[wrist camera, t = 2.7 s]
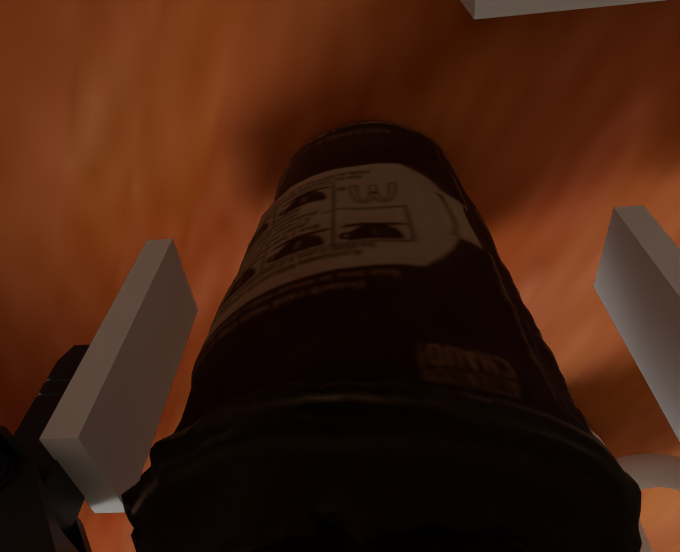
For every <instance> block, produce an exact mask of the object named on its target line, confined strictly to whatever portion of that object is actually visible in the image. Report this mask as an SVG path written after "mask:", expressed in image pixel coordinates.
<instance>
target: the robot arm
mask: <svg viewBox="0 0 680 552" xmlns="http://www.w3.org/2000/svg"><path fill="white" fill-rule="evenodd" d="M594 288H595V290H596V292H597V294H598V295H599V297H600V299H601V301H602V303H603V304H604V306H605V308H606V310H607V312H608V313H609V315H610V317H611V319H612V321H613V322H614V324H615V326H616V328H617V330H618V331H619V333H620V335H621V337H622V339H623V340H624V342H625V344H626V346H627V348H628V350H629V351H630V353H631V355H632V357H633V359H634V360H635V362H636V364H637V366H638V368H639V369H640V371H641V373H642V375H643V377H644V378H645V380H646V382H647V384H648V386H649V387H650V389H651V391H652V393H653V395H654V397H655V398H656V400H657V402H658V404H659V406H660V407H661V409H662V411H663V413H664V415H665V416H666V418H667V420H668V422H669V424H670V425H671V427H672V429H673V431H674V433H675V434H676V436H677V438H678V440H679V442H680V249H679V248H678V247H677V246H676V244H675V243H674V242H673V241H672V239H671V238H670V237H669V236H668V235H667V233H666V232H665V231H664V230H663V229H662V227H661V226H660V225H659V224H658V222H657V221H656V220H655V219H654V218H653V216H652V215H651V214H650V213H649V212H648V210H647V209H646V208H645V207H644V205H642V206H628V207H614V209H613V213H612V217H611V220H610V224H609V228H608V232H607V236H606V240H605V244H604V248H603V252H602V256H601V260H600V264H599V267H598V271H597V275H596V279H595V283H594ZM197 311H198V309H197V306H196V303H195V301H194V298H193V295H192V292H191V289H190V286H189V284H188V281H187V278H186V275H185V272H184V270H183V267H182V264H181V261H180V258H179V255H178V253H177V250H176V247H175V244H174V241H173V239H160V240H147V241H146V243H145V245H144V246H143V248H142V250H141V252H140V254H139V256H138V257H137V259H136V261H135V263H134V265H133V267H132V269H131V270H130V272H129V274H128V276H127V278H126V280H125V281H124V283H123V285H122V287H121V289H120V291H119V293H118V294H117V296H116V298H115V300H114V302H113V304H112V305H111V307H110V309H109V311H108V313H107V315H106V317H105V318H104V320H103V322H102V324H101V326H100V328H99V330H98V331H97V333H96V335H95V337H94V339H93V341H92V342H91V344H90V345H75V346H73V347H72V348H71V349H70V350H69V351H68V352H67V353H66V354H65V355H64V356H63V357H61V358H60V359H59V360H58V361H57V363H56V364H55V366H54V368H53V369H52V371H51V373H50V375H49V376H48V378H47V382H45V383H44V385H43V386H42V388H41V390H40V392H39V396H38V397H36V398H35V400H34V402H33V403H32V405H31V407H30V409H29V410H28V412H27V414H26V415H25V417H24V419H23V420H22V422H21V424H20V426H19V427H18V429H17V431H16V432H15V434H14V436H13V435H12V434H11V433H10V432H9V430H8V429H7V428H6V427H3V426H0V552H92V550H91V547H90V544H89V541H88V538H87V535H86V532H85V529H84V526H83V524H82V522H81V521H80V519H79V518H78V517H77V516H78V514H79V511H80V509H81V506H82V504H83V502H84V500H85V501H86V502H87V504H88V505H89V506H90V508H91V509H92V510H93V511H94V513H113V512H125V511H124V507H123V501H122V498H121V494H123V493H124V492H125V491H127V490H128V489H130V488H131V487H132V486H134V485H135V484H136V483H137V482H138V481H139V479H140V476H141V473H142V470H143V467H144V464H145V461H146V459H147V456H148V453H149V450H150V447H151V444H152V441H153V438H154V435H155V433H156V430H157V427H158V424H159V421H160V418H161V415H162V412H163V409H164V406H165V404H166V401H167V398H168V395H169V392H170V389H171V386H172V383H173V380H174V378H175V375H176V372H177V369H178V366H179V363H180V360H181V357H182V354H183V352H184V349H185V346H186V343H187V340H188V337H189V334H190V331H191V328H192V325H193V323H194V320H195V317H196V314H197Z"/></svg>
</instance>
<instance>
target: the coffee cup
mask: <svg viewBox="0 0 680 552" xmlns="http://www.w3.org/2000/svg"><path fill="white" fill-rule="evenodd" d="M150 461H151V467H150V468H149V469H148V470H146V471H145V472H144V473H143V474H142V475H141V478H140V480H139V481H138V482H137V483H136V484H135V485H134V486H132V487H131V488H130V489H128V490H127V491H125V492H124V493H123V494H121V498H122V501H123V507H124V511H125V513H126V515H127V517H128V520H129V521H130V523H131V524H132V526H133V527H134V530H133V532H132V534H131V537H132V540H133V543H134V546H135V549H136V552H640V549H641V546H642V540H641V536H640V532H639V517H640V512H641V490H640V487H639V485H638V483H637V482H636V481H635V480H634V479H633V478H632V477H631V476H630V475H629V474H628V473H626V472H624V470H623V469H622V467H621V466H620V465H619V463H618V462H617V460H616V459H615V458H614V456H613V455H612V454H611V452H610V451H609V450H608V448H607V447H606V446H605V445H604V444H603V443H602V442H601V441H599V440H598V439H597V438H596V437H595V436H594V435H593V433H592V431H591V428H590V426H589V424H588V422H587V420H586V419H585V417H584V415H583V414H582V413H581V412H580V410H579V409H578V408H576V407H575V405H574V402H573V399H572V396H571V393H570V390H569V388H568V386H567V383H566V381H565V379H564V377H563V375H562V374H561V372H560V370H559V367H558V365H557V362H556V359H555V357H554V355H553V353H552V351H551V350H550V348H549V347H548V346H547V344H546V343H545V342H544V341H543V339H542V335H541V332H540V330H539V329H538V328H537V326H536V324H535V322H534V319H533V317H532V315H531V314H530V312H529V310H528V309H527V308H526V306H525V305H524V304H523V302H522V300H521V297H520V293H519V291H518V289H517V288H516V286H515V284H514V282H513V280H512V277H511V275H510V273H509V271H508V270H507V268H506V267H505V265H504V264H503V262H502V261H501V260H500V257H499V255H498V252H497V249H496V247H495V244H494V241H493V239H492V236H491V234H490V232H489V230H488V228H487V226H486V224H485V222H484V220H483V219H482V217H481V215H480V213H479V212H478V210H477V209H476V207H475V206H474V204H473V203H472V201H471V200H470V199H469V197H468V196H467V194H466V193H465V191H464V190H463V188H462V186H461V184H460V182H459V180H458V178H457V176H456V174H455V172H454V170H453V168H452V166H451V164H450V162H449V160H448V158H447V157H446V155H445V154H444V153H443V151H442V150H441V149H440V147H439V146H438V144H437V143H436V142H435V141H433V140H432V139H431V138H429V137H427V136H425V135H423V134H421V133H418V132H416V131H413V130H411V129H408V128H405V127H401V126H398V125H395V124H392V123H387V122H380V121H367V122H359V123H353V124H349V125H346V126H343V127H340V128H337V129H335V130H333V131H330V132H328V133H325V134H323V135H321V136H318V137H316V138H315V139H313V140H311V141H310V142H308V143H307V144H306V145H305V146H304V147H303V148H302V149H301V150H300V151H299V152H298V153H297V154H296V155H295V156H294V157H293V159H292V160H291V162H290V163H289V165H288V167H287V168H286V170H285V172H284V174H283V176H282V178H281V180H280V182H279V185H278V188H277V193H276V197H275V202H274V203H273V204H272V205H271V207H270V208H269V209H268V210H267V211H266V212H265V213H264V215H263V216H262V217H261V220H260V222H259V225H258V227H257V229H256V232H255V234H254V236H253V238H252V240H251V241H250V243H249V245H248V249H247V251H246V253H245V256H244V258H243V261H242V263H241V266H240V269H239V271H238V274H237V276H236V277H235V279H234V280H233V282H232V284H231V286H230V287H229V289H228V291H227V293H226V295H225V297H224V299H223V300H222V302H221V304H220V306H219V308H218V311H217V313H216V315H215V318H214V320H213V323H212V325H211V328H210V330H209V334H208V336H207V338H206V340H205V342H204V344H203V346H202V349H201V351H200V353H199V355H198V357H197V359H196V362H195V365H194V368H193V371H192V379H191V390H190V394H189V397H188V401H187V404H186V407H185V410H184V413H183V416H182V419H181V422H180V423H179V425H178V427H177V428H176V430H175V432H174V434H172V435H170V436H168V437H166V438H164V439H162V440H160V441H158V442H156V443H155V444H154V445H153V447H152V448H151V451H150Z"/></svg>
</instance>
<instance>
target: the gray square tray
mask: <svg viewBox="0 0 680 552" xmlns="http://www.w3.org/2000/svg"><path fill="white" fill-rule="evenodd" d="M460 1H461V2H462V4H463V5H464V7H465V8H466V9H467V11H468V12H469V13H470V15H471V16H472V17H473V19H484V18H494V17H504V16H514V15H524V14H534V13H544V12H554V11H564V10H574V9H584V8H594V7H605V6H615V5H625V4H635V3H645V2H655V1H665V0H460Z"/></svg>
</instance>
